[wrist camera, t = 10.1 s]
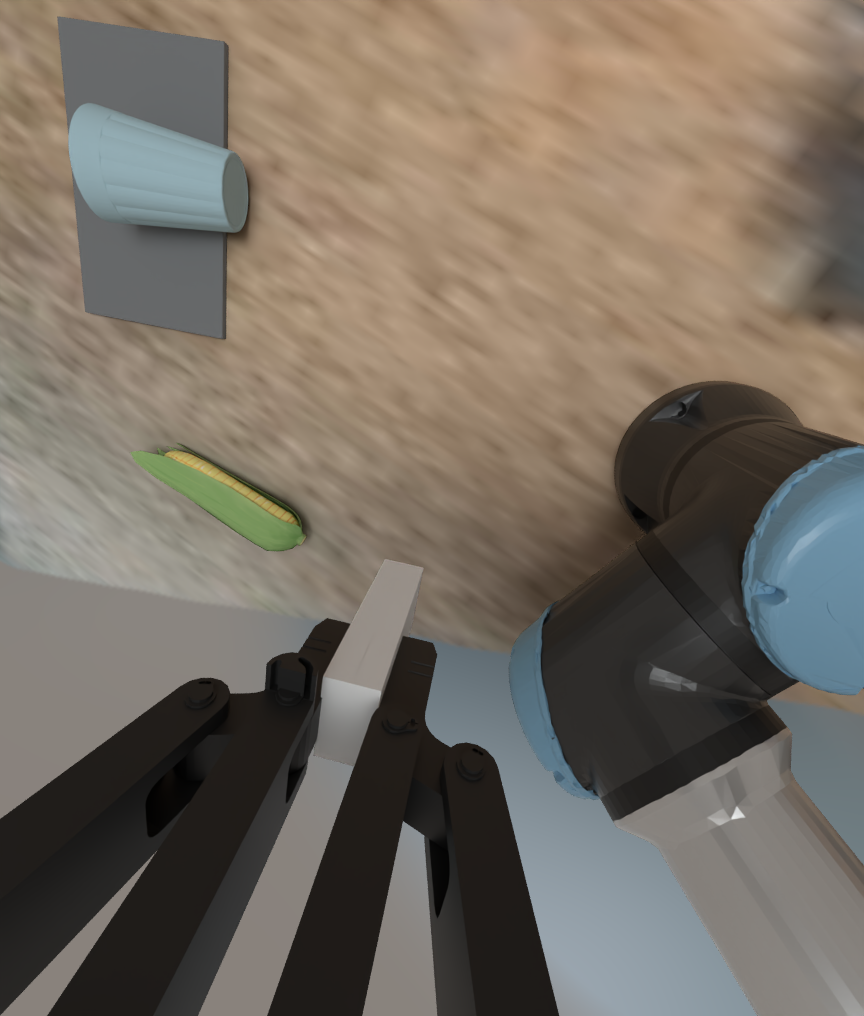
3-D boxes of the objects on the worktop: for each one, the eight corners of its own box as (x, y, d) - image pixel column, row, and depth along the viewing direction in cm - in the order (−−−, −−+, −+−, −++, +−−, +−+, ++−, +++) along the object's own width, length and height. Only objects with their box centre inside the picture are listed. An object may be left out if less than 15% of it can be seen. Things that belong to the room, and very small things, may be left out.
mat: (228, 45, 37) (224, 41, 36) (225, 338, 45) (222, 338, 44) (63, 21, 38) (57, 16, 37) (90, 312, 46) (85, 311, 45)
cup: (252, 141, 39) (124, 114, 38) (212, 123, 32) (56, 90, 32) (254, 244, 43) (137, 221, 42) (219, 247, 36) (79, 220, 36)
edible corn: (283, 570, 48) (294, 544, 46) (114, 466, 48) (115, 432, 45) (308, 541, 53) (320, 514, 50) (153, 444, 52) (156, 412, 49)
